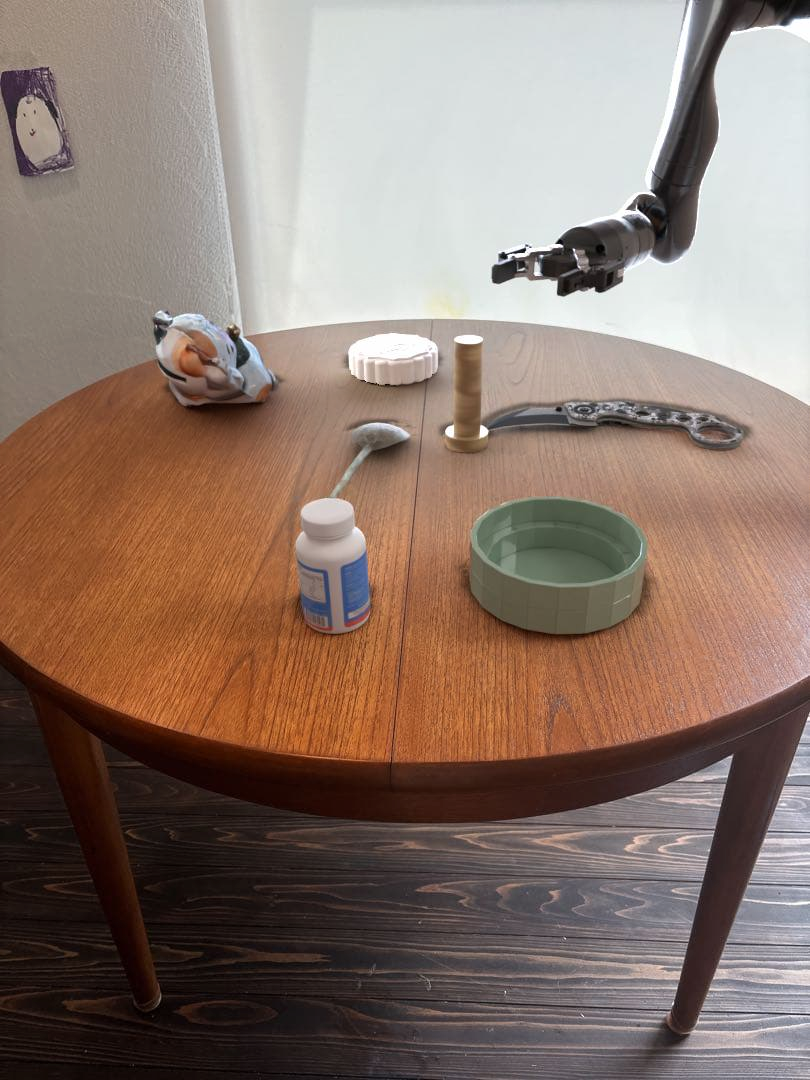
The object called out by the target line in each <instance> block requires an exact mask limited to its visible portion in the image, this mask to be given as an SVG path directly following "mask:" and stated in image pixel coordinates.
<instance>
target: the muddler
mask: <svg viewBox="0 0 810 1080" xmlns="http://www.w3.org/2000/svg"><path fill="white" fill-rule="evenodd" d="M453 346H454V347H453V424H452V425H450V426H448V427H447V428H445V431H444V433H445V434H444V435H445V436H444V445H445V446H446V447H447V448H448V449H449V450H451V451H453V452H458V453H465V454H466V453H467V454H468V453H477V452H480V451H483V450H485V449H486V448H487V447H488V445H489V431H488V430H487V428H486V427H485V426H484V425H481V424H482V390H483V389H482V388H483V387H482V385H483V357H484V356H483V355H484V354H483V352H484V339H483V337H482V336H478V335H474V334H464V335H459V336H456V337H455V338H454V345H453Z"/></svg>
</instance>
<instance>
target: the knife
mask: <svg viewBox="0 0 810 1080" xmlns="http://www.w3.org/2000/svg"><path fill="white" fill-rule="evenodd" d="M538 425H539V426H540V425H557V426H575V427H578V428H579V427H580V428H598V425H601V426H602V425H603V426H604V425H605V426H625V427H627V426H628V427H637V428H640V429H641V428H642V429H649V430H657V431H659V430H663V431H666V430H667V431H678V432H682V433H685V434H686V435H688V437H689V439H690V441H691V442H692V443H693V444H695V445H696V446H698V447H700V448H703V449H707V450H712V451H728V450H733V449H736V448H739V447H740V446H741V445H742V444H743V440H744V435H745V434H744V431H743V430H742V429H741V428H738V427H736V426H733V425H731V424H729V423H727V422H725V421H723V420H722V419H721V418H720V417H717V416H714V415H711V414H708V413H697V412H695V413H693V412H689V411H685V410H679V409H674V408H668V407H663V406H656V405H647V404H638V403H635V402H633V401H630V400H615V401H614V400H613V401H609V402H608V401H606V402H605V401H604V402H587V401H586V402H585V401H577V400H575V401H570V402H569V401H568V402H565V403H564V404H563V406H560V405H558V406H556V407H552V408H549V407H547V408H545V407H543V408H540V407H527V408H523V409H519V410H516V411H512V412H509V413H506V414H504V415H502V416H500V417H497V418H496V419H495V420H492V422H490V423H489V424H488V425H487V426H486V427H485V428H487V430H488V432H490V431H495V430H500V429H505V428H513V427H522V426H538ZM702 432H719V433H723V434H726V435H728V436H730V437H731V438H728V439H715V438H714V439H713V438H709V437H707V436H703V434H701V433H702Z"/></svg>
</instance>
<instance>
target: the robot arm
mask: <svg viewBox="0 0 810 1080" xmlns="http://www.w3.org/2000/svg"><path fill="white" fill-rule="evenodd" d="M683 9H684V10H683V14H682V21H681V26H680V32H679V38H678V42H677V43H678V44H677V49H676V56H675V62H674V68H673V74H672V82H671V86H670V93H669V98H668V103H667V106H666V111H665V116H664V119H663V123H662V125H661V129H660V132H659V135H658V137H657V141H656V144H655V145H654V146H655V147H654V150H653V153H652V154H651V155H652V156H651V159H650V161H649V164H648V168H647V172H646V176H645V182H646V186H647V188H648V189H649V191H650V192H651V193H650V192H644V191H643V192H641V191H640V192H637V193H634V194H633V195H632V196H631V197H630V198H629V199H628V200H627V201H626V203H625V204H624V205H623V206H622V208H621V209H620V210H619V211H618V212H617V213H615V214H613V215H610V216H603V217H598V218H595V219H592V220H589V221H587V222H584V223H582V224H579V225H576V226H572V227H571V228H568V229H566V230H564V232H562V233H561V235H559V237H557V240H556V241H555V243H554V244H551V245H548V246H547V247H538V248H533V246H532V244H530V243H523V244H519V245H517V246H513V247H511V248H507V249H504V250H500V251H498V253H497V262H496V263H494V264H493V265H491V275H490V276H491V277H490V279H491V282H492V284H494V285H500V284H503V283H505V282H509V281H511V280H513V279H517V278H525V279H527V280H528V281H530V282H532V281H534V282H535V281H545V280H549V281H551V282H557V284H556V296H558V297H562V298H565V297H567V296H569V295H571V294H574V293H575V292H578V291H579V292H583V293H585V292H588V291H589V290H592V289H594V292H595V293H597V294H602V293H605V292H608V291H610V290H612V289H613V288H614V287H616V286H618V285H620V284H621V283H623V282H624V275H625V272H626V271H628V270H630V269H632V268H634V267H637V266H638V265H640V264H642V263H644V262H645V261H646V260H647V259H648V258H650V259H651V260H653V261H654V262H656V263H658V264H661V265H672V264H674V263H675V264H676V263H677V262H679V261H680V260H681V259H682V258H684V256H685V255H686V254H687V253H688V252H689V250H690V248H691V246H692V245H693V242H694V239H695V236H696V233H697V227H698V219H699V205H700V195H701V188H702V184H703V181H704V178H705V176H706V173H707V171H708V168H709V166H710V163H711V161H712V158H713V156H714V153H715V151H716V148H717V144H718V140H719V136H720V129H721V119H720V111H719V104H718V100H717V96H716V95H717V94H716V87H715V73H716V68H717V65H718V61H719V59H720V56H721V54H722V52H723V50H724V48H725V45H726V44H727V41H728V40H729V38H730V37H731V35H737V34H741V33H745V32H752V31H757V30H762V29H781V30H784V31H786V32H790V33H792V34H794V35H797V36H798V37H801V38H802V39H804V40H806V41H808V42H810V0H685V3H684V8H683ZM536 263H537V267H538V270H539V272H535V267H536V266H535V265H536Z"/></svg>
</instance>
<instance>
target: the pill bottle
mask: <svg viewBox="0 0 810 1080" xmlns="http://www.w3.org/2000/svg"><path fill="white" fill-rule="evenodd" d="M300 527H301V529H302V531H301V532H300V533H299V535H298V536H297V538H296V540H295V557H296V566H297V572H298V580H299V581H298V582H299V588H300V596H301V597H300V598H301V607H302V614H303V618H304V621H305V623H306V624H307V626H309V627H310V628H311V629H313V630H314V631H317V632H319V633H322V634H328V635H329V634H330V635H340V634H345V633H350V632H353V631H355V630H357V629H359V628H360V627H362V626H363V625H364V624H366V622H367V620H369V618H370V616H371V615H370V614H371V595H370V583H369V568H368V567H369V566H368V553H367V542H366V538H365V535H364V533H363V532H362V531H361V529H359V528H358V527H357V526H356V518H355V510H354V506H353V505H352V504H351V503H350V502H349V501H346V500H344V499H342V498H337V497H336V498H327V497H325V498H319V499H316V500H312V501H310V502H308V503H307V504H305V505H304V506H303V507H302V508H301V510H300Z"/></svg>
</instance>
